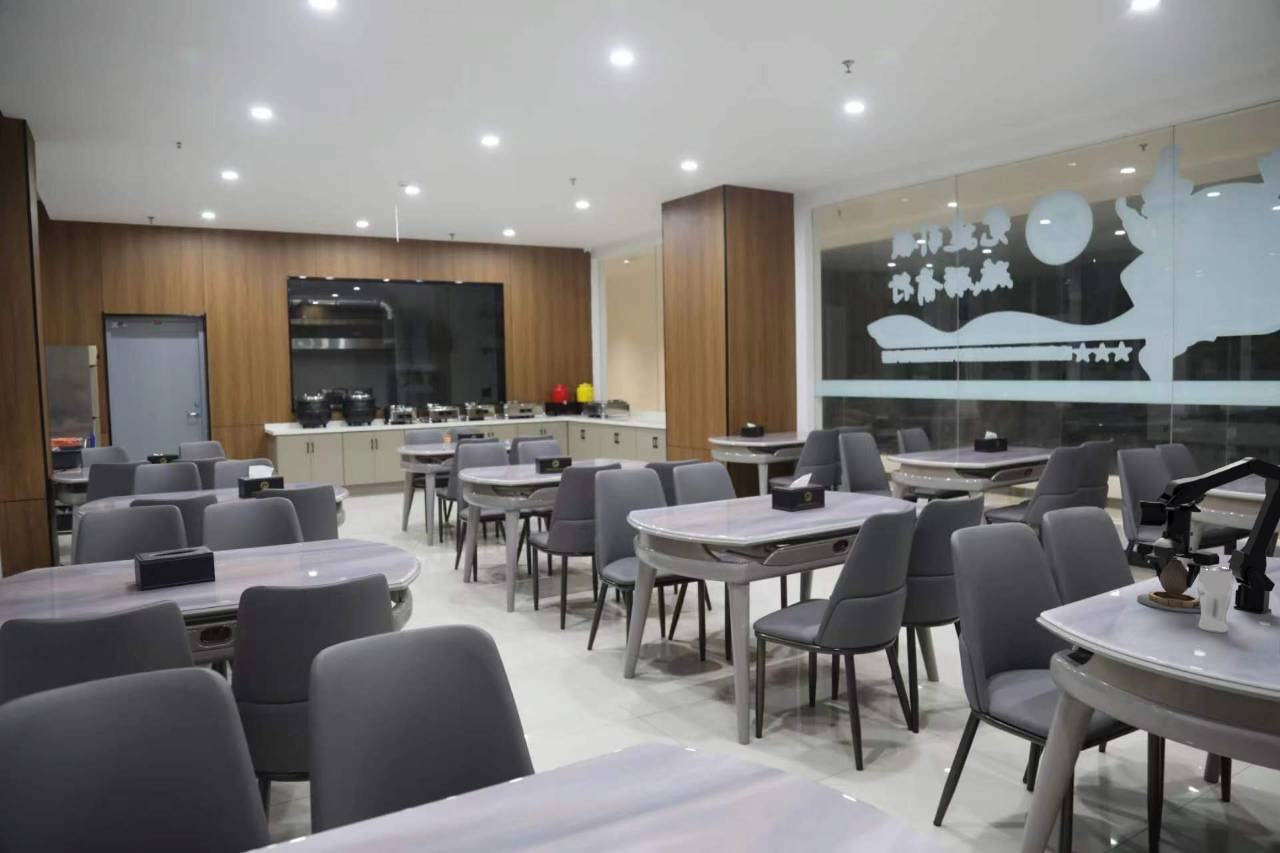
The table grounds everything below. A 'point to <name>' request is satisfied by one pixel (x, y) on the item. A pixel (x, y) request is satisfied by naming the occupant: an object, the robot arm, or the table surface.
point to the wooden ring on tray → (1170, 601)
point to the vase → (1174, 577)
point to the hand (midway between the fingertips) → (1175, 584)
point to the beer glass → (1214, 597)
